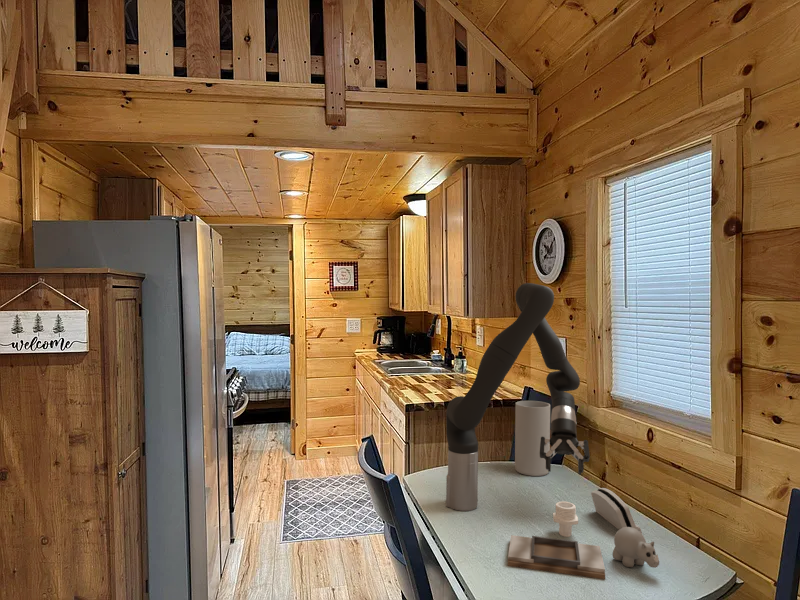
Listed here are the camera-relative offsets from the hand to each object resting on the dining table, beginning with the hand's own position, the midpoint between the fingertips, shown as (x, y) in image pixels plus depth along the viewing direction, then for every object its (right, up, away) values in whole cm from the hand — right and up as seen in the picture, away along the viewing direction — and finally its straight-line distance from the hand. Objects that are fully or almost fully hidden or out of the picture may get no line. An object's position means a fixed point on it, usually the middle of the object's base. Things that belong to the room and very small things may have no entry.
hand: (564, 471), depth 156 cm
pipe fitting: (-3, -14, -10) cm, 17 cm away
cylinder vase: (+1, -14, +43) cm, 45 cm away
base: (-10, -14, -24) cm, 29 cm away
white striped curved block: (+14, -14, -2) cm, 20 cm away
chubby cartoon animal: (+9, -14, -28) cm, 32 cm away
